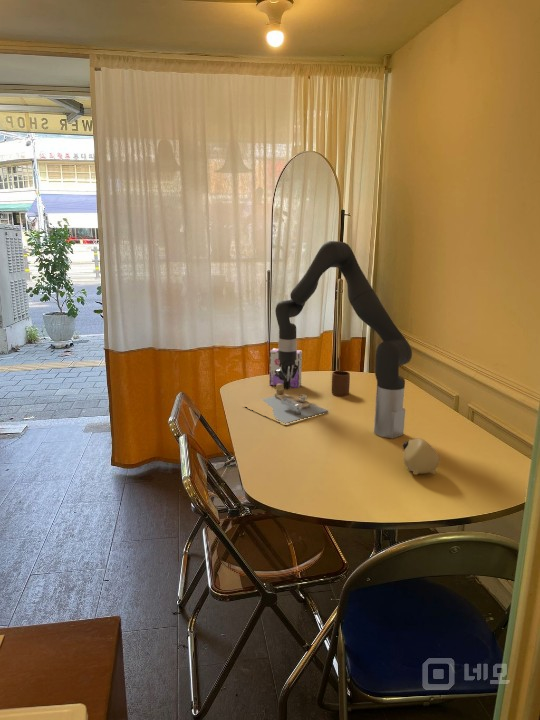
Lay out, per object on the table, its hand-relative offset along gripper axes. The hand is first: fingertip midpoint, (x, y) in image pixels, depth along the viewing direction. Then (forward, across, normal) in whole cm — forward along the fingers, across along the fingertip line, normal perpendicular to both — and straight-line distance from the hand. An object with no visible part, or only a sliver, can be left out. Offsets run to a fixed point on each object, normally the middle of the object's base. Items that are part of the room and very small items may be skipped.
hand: (286, 389), depth 210 cm
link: (+3, -5, -7) cm, 9 cm away
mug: (+4, +22, -11) cm, 25 cm away
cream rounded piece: (+4, -23, -71) cm, 75 cm away
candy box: (+4, +13, +12) cm, 19 cm away
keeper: (+3, -9, -14) cm, 17 cm away
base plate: (+4, -11, -8) cm, 14 cm away
